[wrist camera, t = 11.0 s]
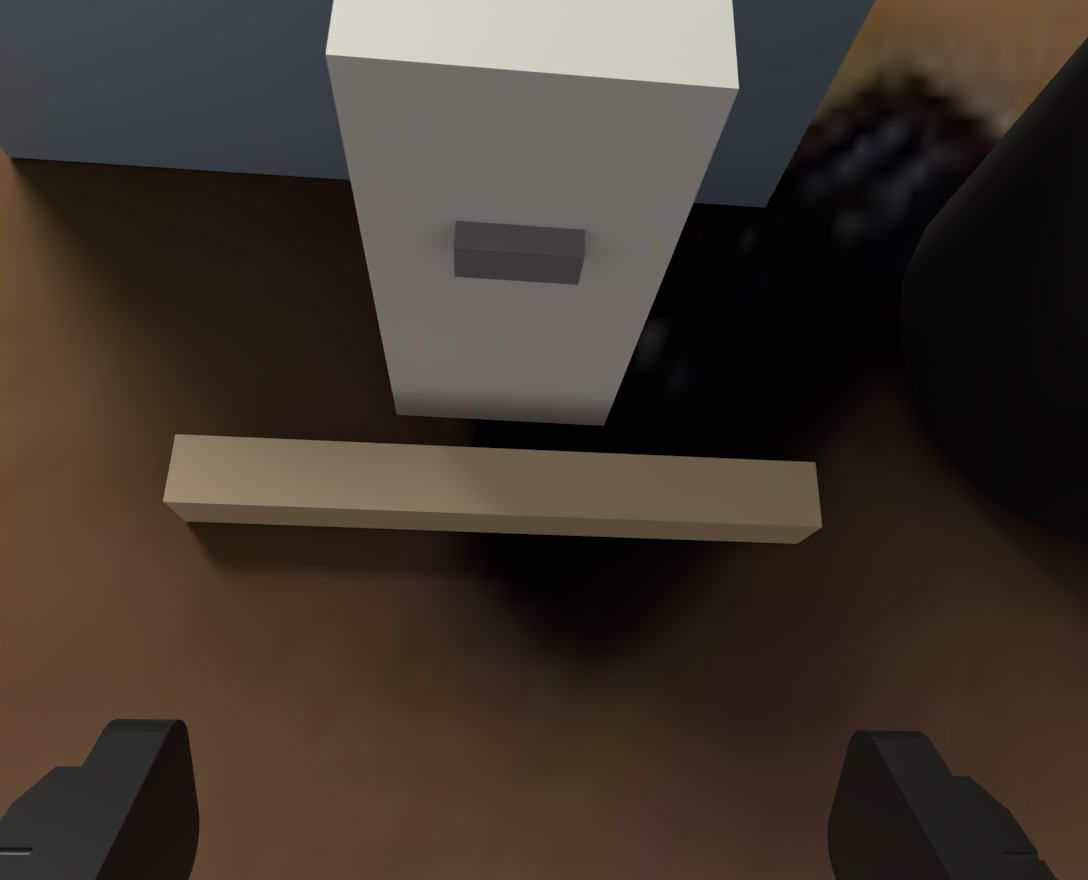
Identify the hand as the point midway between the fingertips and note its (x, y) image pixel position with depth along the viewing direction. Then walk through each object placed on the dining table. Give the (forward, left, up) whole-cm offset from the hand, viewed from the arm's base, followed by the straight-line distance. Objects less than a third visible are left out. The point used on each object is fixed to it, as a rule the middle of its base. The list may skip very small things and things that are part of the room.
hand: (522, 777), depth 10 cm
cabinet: (0, +11, -8) cm, 13 cm away
